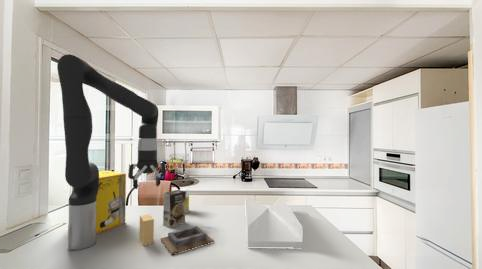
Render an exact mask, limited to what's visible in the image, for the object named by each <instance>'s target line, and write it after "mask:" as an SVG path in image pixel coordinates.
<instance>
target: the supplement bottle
mask: <svg viewBox="0 0 482 269" xmlns="http://www.w3.org/2000/svg"><path fill="white" fill-rule="evenodd" d="M179 190H181V191H185V192H186V201H185V214H186V213H188V212H189V211H190V195H189V193H188V189H187V188H180V189H179Z"/></svg>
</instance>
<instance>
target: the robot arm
mask: <svg viewBox="0 0 482 269" xmlns="http://www.w3.org/2000/svg"><path fill="white" fill-rule="evenodd" d="M56 66H57V74H58V79H59V85H60V90H61V91H60V92H61V98H62V99H61V100H62V102H61V103H62V115H63V116H62V117H63V119H62V120H63V129H64V130H63V131H64V139H65V140H64V141H65V142H64V143H65V151H66V152H65V170H64V172H65V173H64V176H65V181H66V183H67V185H69V186H70V187H71V188H72V187H73V191H72V190H71V194H70V195H69V197H68V224H67V225H68V226H67V227H68V228H67V235H68V236H67V251H79V250H84V249H87V248H89V247H92V246H93V245H95V244H96V243H97V234H96V198H97V194H98V188H99V172H100V171H99V168H98V166H97V165H96V164H95V163H93V162H91V161H90V160H89V146H90V143H91V139H92V135H93V116H92V111H91V108H90V106H89V103H88V101H87V98H86V97H85V93H84V87H83V85H86V86H88V87H91V88H93V89H95V90H96V91H97V90H98V91H99V92H101V93H102V94H104V95H105V96H106V97H108V98H110V99H111V100H113V101H114V102H116V103H118V104H120V105H121V106H123V107H125V108H127V109H129V110H131V112H134V113H135V114H137V115H138V116H139V117H141V123H140V125H139V127H138V140H137V163H129V164H128V175H127V177H128V178H129V179H131V180H132V186H133V188H134V189H136V190H138V186H139V185H138V184H139V182H138V179H139V177H140V176H141V175H142V174H144V175H145V174H154V175H155V176H156V177H155V186H156V187H160V185H161V177H165V176H166V167H165V166H166V165H165V162H164V161H160V162H158V141H157V139H158V137H157V136H158V129H157V127H158V122H159V108H158V106H157V105H156V104H155V103H153V102H152V101H150V100H148V99H146V98H144V97H142V96H140V95H138V94H137V93H135V91H132V90H131V89H129V88H128V87H125V86H123V85H122V84H119V83H118V82H115V81H114V80H112V79H109V78H107V77H106V76H104V75H102V74H101V73H100V72H98V71H97V70H96V69H95V68H93V66H92V65H90V64H89V63H88V62H86V61H85V60H84V59H82V58H80V57H79V56H77V55H74V54H69V53H67V54H64V55H62V56H61V57H60V58H59V59H58V61H57V65H56ZM157 167H160V168H159V170H160V173H159V171H158V170H157ZM136 168H137V169H138V170H137V171H136V172H135V174H134V170H136Z"/></svg>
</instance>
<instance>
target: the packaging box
mask: <svg viewBox="0 0 482 269" xmlns="http://www.w3.org/2000/svg"><path fill="white" fill-rule="evenodd" d="M126 182H127V173H125V172H118V171H112V170H101V171H99V188H98V194H97V198H96V235H97V234H100V233H103V232H105V231H107V230H108V231H109V230H110V229H113V228H116V227H119V226H122V225H123V224H126V204H127V203H126V200H127V199H126V196H127V195H126V193H127V192H126V190H127V186H126V185H127V183H126ZM72 191H73V187H72V186H71V192H72ZM102 231H103V232H102Z"/></svg>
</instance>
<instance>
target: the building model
mask: <svg viewBox="0 0 482 269" xmlns="http://www.w3.org/2000/svg"><path fill="white" fill-rule="evenodd" d="M244 215H245V216H244V219H246V220H245V231H246V232H247V233H246V244H247V245H248V247H293V248H302V249H303V239H304V238H303V236H304V235H303V232H304V230H303V229H304V227H303V225H302V224H301V223H300V221H299V220H298V218H297V216H296V215H295V214H294V212H293V210H292V209H291V208H290V206H289V204H288V202H286V199H284V197H283V195H281V196H280V197H279V198H278V199H276V200H275V201H274V202H273V203H272V204H271V205H268V204H267V205H266V204H265V205H264V204H261V203H260V202H258V201H256V200H255V199H252V198H251V197H249V196H247V195H246V194H244ZM248 247H247V248H248Z"/></svg>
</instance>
